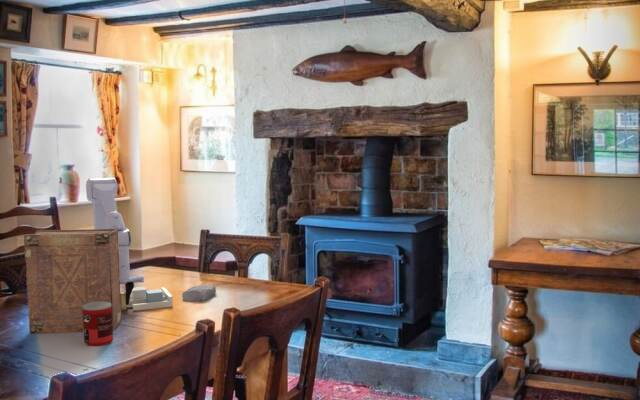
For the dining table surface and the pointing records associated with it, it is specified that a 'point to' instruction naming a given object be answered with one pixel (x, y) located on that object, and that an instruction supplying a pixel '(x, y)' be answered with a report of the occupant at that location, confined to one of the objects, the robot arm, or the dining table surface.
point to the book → (70, 277)
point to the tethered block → (150, 297)
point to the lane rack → (142, 305)
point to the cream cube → (138, 293)
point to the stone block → (199, 293)
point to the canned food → (97, 323)
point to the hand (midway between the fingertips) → (122, 305)
